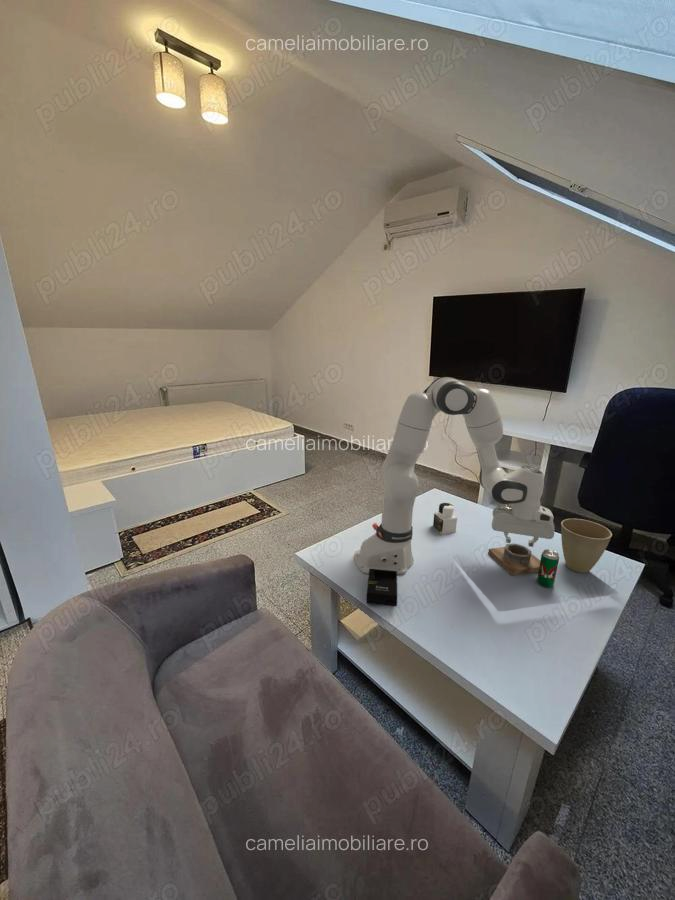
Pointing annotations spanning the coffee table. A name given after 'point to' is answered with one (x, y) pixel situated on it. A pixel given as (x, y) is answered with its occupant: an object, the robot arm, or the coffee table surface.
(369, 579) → the battery charger
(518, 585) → the coffee table surface
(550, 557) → the soda can
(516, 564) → the socket block
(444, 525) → the white boxy device
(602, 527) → the plant pot
